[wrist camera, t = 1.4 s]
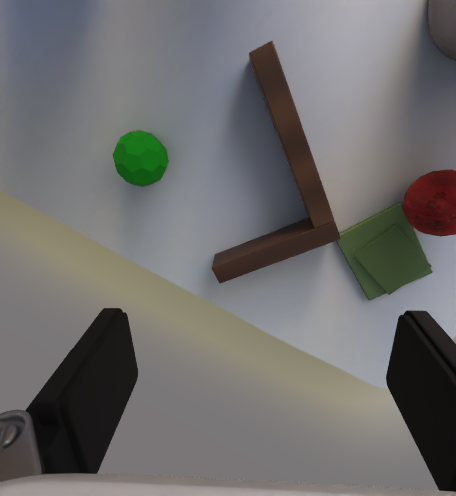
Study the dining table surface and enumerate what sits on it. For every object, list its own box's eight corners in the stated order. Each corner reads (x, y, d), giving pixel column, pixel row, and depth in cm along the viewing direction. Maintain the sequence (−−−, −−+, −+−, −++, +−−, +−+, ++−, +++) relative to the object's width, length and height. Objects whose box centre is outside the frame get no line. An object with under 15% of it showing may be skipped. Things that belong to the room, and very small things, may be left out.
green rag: (333, 236, 34) (336, 239, 33) (399, 202, 32) (404, 204, 31) (367, 298, 37) (370, 303, 36) (430, 270, 35) (435, 274, 34)
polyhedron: (157, 121, 31) (142, 122, 26) (181, 168, 32) (170, 176, 28) (115, 143, 32) (93, 148, 27) (140, 188, 33) (123, 199, 29)
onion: (401, 230, 33) (443, 264, 26) (381, 182, 32) (421, 204, 24) (458, 204, 32) (521, 232, 24) (442, 152, 30) (503, 166, 23)
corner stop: (143, 115, 31) (131, 115, 27) (270, 48, 28) (272, 40, 24) (222, 268, 37) (219, 284, 33) (332, 227, 34) (341, 239, 30)
